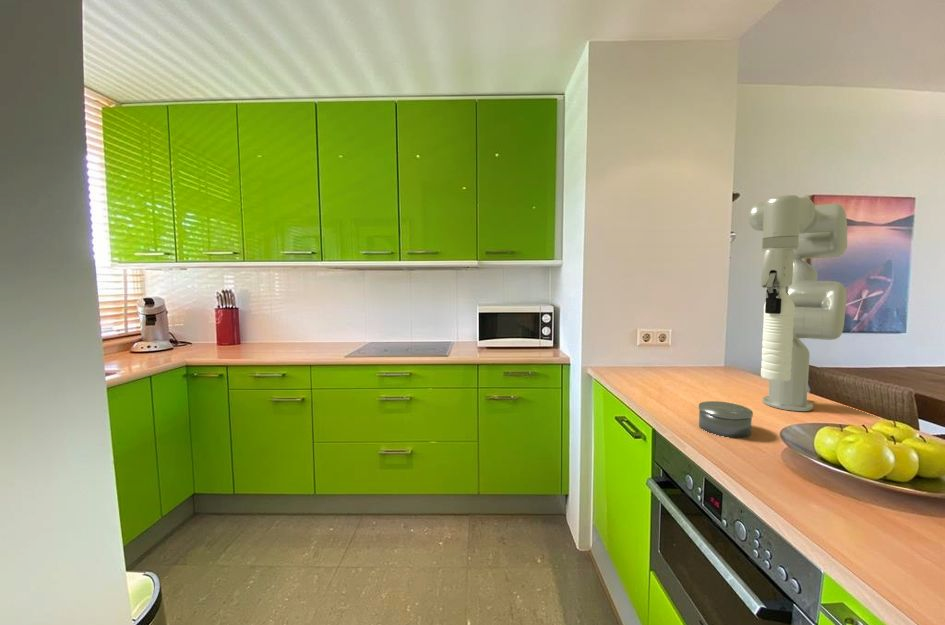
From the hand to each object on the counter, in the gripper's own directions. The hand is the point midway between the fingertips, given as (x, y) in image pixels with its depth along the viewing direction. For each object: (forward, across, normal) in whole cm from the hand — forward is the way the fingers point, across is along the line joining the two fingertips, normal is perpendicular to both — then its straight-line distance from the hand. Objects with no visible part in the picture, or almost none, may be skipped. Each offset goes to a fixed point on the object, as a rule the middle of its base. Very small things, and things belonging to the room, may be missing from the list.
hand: (776, 311), depth 104 cm
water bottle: (+18, -1, 0) cm, 18 cm away
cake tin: (+32, +11, -8) cm, 35 cm away
